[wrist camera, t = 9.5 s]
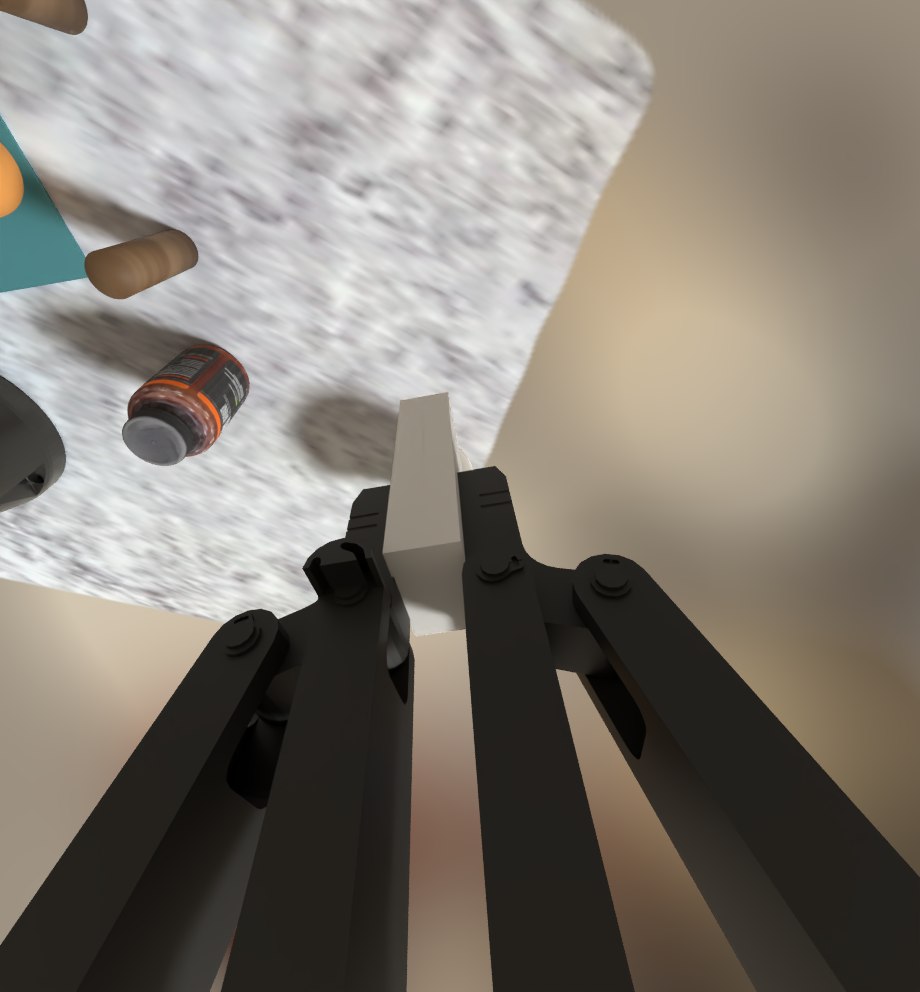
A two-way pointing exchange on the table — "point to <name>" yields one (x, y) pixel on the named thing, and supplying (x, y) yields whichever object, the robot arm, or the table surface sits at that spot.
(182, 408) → the supplement bottle
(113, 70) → the table surface
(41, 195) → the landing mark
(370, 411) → the table surface
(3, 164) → the ball
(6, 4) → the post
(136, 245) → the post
